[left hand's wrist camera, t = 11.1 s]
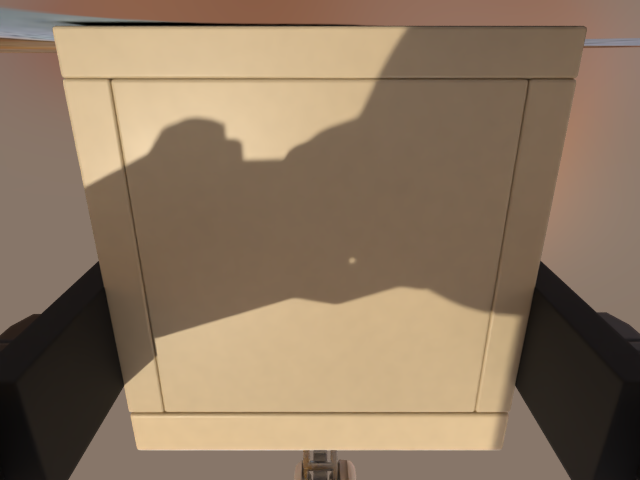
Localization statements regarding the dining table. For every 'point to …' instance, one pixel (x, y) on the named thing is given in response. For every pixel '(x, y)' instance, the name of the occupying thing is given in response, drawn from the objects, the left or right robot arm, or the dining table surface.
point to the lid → (319, 430)
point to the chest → (319, 208)
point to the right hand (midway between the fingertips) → (320, 446)
